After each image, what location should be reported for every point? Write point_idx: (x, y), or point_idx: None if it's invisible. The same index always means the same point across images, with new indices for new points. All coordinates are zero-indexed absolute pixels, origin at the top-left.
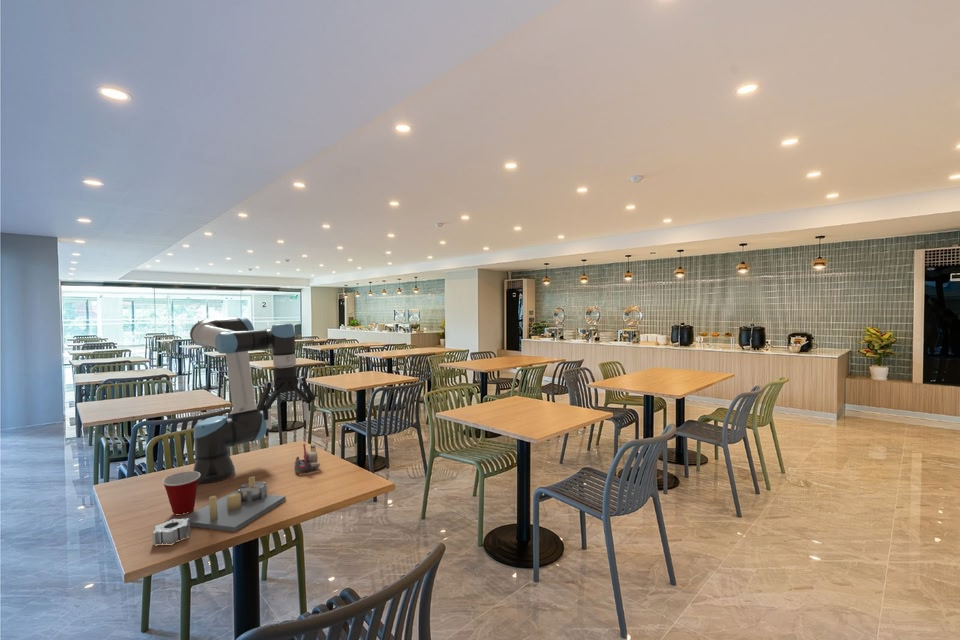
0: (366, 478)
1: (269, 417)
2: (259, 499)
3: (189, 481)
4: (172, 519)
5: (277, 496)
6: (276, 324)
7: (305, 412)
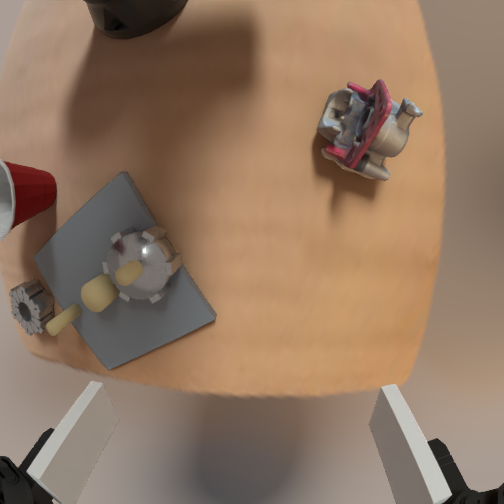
0: (410, 333)
1: (81, 471)
2: None
3: (1, 237)
4: (21, 288)
5: (198, 306)
6: None
7: (392, 456)
